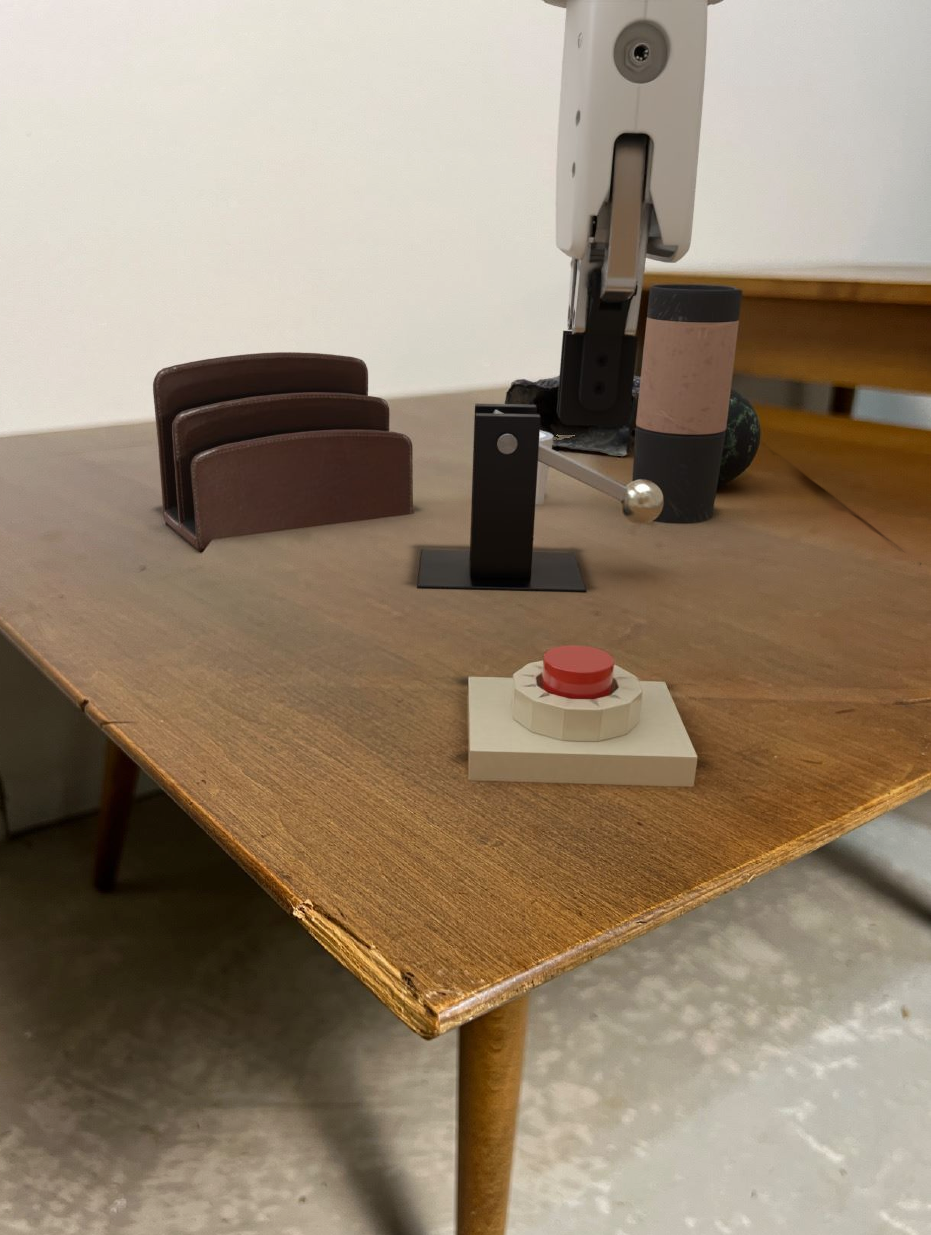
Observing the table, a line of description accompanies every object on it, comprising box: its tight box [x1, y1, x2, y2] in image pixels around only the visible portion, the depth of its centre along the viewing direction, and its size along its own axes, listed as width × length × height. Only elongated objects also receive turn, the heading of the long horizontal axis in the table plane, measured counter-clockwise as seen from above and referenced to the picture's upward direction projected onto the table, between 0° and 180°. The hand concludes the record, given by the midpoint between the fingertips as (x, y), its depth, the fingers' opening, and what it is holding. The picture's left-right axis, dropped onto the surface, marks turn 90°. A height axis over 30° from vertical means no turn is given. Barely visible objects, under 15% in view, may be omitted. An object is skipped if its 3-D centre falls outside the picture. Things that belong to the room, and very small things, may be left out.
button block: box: [466, 659, 699, 788], centre depth 56 cm, size 11×9×4 cm
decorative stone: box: [717, 388, 762, 487], centre depth 108 cm, size 10×10×10 cm
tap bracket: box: [416, 403, 587, 594], centre depth 78 cm, size 12×9×13 cm
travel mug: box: [631, 283, 744, 525], centre depth 92 cm, size 8×8×20 cm
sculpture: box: [504, 374, 641, 457], centre depth 135 cm, size 8×16×30 cm
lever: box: [493, 410, 664, 525], centre depth 76 cm, size 14×3×3 cm, turn 88°
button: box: [541, 644, 615, 699], centre depth 55 cm, size 4×4×2 cm
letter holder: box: [152, 351, 415, 552], centre depth 91 cm, size 10×20×14 cm, turn 118°
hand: (591, 421), depth 50 cm, fingers closed
